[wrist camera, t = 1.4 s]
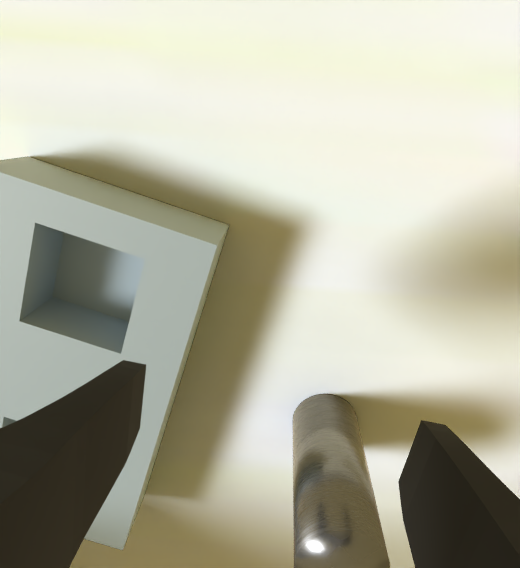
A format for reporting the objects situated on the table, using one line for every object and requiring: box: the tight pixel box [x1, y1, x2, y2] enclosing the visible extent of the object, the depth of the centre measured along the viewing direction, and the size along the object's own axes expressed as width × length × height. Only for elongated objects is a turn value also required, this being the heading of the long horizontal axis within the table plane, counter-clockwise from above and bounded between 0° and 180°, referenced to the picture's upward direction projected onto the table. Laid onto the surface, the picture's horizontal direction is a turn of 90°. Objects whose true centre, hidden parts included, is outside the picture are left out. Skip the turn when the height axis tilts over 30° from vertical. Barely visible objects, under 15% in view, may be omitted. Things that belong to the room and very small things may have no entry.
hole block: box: [0, 157, 229, 550], centre depth 21 cm, size 16×9×4 cm, turn 162°
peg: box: [293, 394, 390, 568], centre depth 19 cm, size 3×3×8 cm
